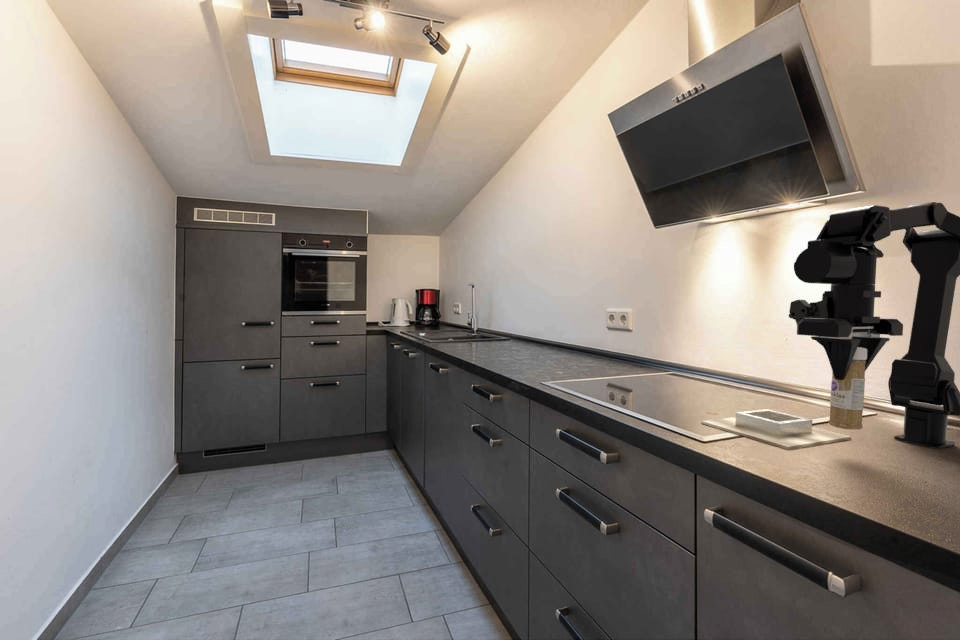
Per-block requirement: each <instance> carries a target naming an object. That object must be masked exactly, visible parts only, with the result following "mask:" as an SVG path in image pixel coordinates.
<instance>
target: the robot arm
mask: <svg viewBox="0 0 960 640" xmlns="http://www.w3.org/2000/svg"><path fill="white" fill-rule="evenodd" d="M828 217H829V219H827V220H826V221H825V224H824V225H823V227H822V228H821V230H820V232H819V234H818V235H817V237H816V239H815V240H808V241H807V248H805V249H803V251H801V252H800V253H799V254H798V256H797V257H796V260H795V262H793V271H794V274H795V276H796V278H797V279H799V281H801V282H803V283H806V284H822V285H823V284H824V285H830V290H824V292H823V293H822V297H821V300H819V301H814V302H808V301H806V299H796V300H793V301H791V302H790V304H789V305H790V306H789V313H788V318H790V319H792V320H794V321H795V323H796V335H797V336H798V335H799V336H810V338H811V339H812V340H813V341H816V342H817V343H818V344H819V345H820V346H822V347H823V349H824V351H825V353H826V356H827V358H828V362H829V365H830V368H831V372H833V374H834V377H835V379H837V380H844V378H845V376H846V374H847V372H848V369H849V367H850V364H851V362H852V359H853V357H854V354H855V352H856V350H857V347H861V348H866V349H867V359H866V360H865V361H866V362H865V372H866V370H868V368H869V366H870V365H871V363H872V362H873V361H874V360H875V358H876V357H877V355H878V353H879V352H880V351H881V350H882V349H883V347H884V346H885V345H886V343H888V342H890V340H891V339H890V337H881V335H889V336H892V337H897V336H898V337H899V336H901V337H902V336H903V334H904V324H903V322H901V321H900V320H899V319H898V318H884V317H883V318H881V316H875V298H878V299H881V298H882V290H881V291H880V290H876V279H877V278H876V276H877V275H876V274H877V259H879V258H883V257H884V253H883V252H882V250H881V249H879V248H878V247H876V245H875V244H876V242H879V241H882V240H884V239H886V238H888V237H889V236H890V235H891V234H892V232H896V231H901V230H905V233H904V235H903V239H902V243H903V245H904V247H905V248H906V249H907V250H908V252H909V253H910V263H911V264H912V266H913V268H914V269H915V271H916V272H917V273H918V275H919V280H918V287H917V292H916V293H917V294H916V299H915V306H914V310H913V311H914V312H913V319H912V325H911V332H910V336H909V337H910V338H909V344H908V351H907V352H906V354H904V355H903V356H902V357H901V358H900V359H899V358H895V359H894V360H893V362H892V363H891V370H890V371H891V372H890V376H889V378H888V382H887V383H888V384H887V386H888V391H889V396H890V398H889V399H890V403H891V406H893V407H894V406H895V407H901V408H904V417H903V419H904V420H903V433H902V434H899V435H894V436H893V439H894V440H899V441H902V442H907V443H910V444H911V443H912V444H916V445H919V446H923V447H928V448H933V449H942V448H948V447H953V446H952V445H954V446H956V444H957V443H956V442H954V441H950V440H947V433H948V419H949V418H948V417H949V416H960V390H959V388H958V386H957V385H956V383H955V377H956V374H955V373H956V372H955V371H954V370H953V368H952V366H951V365H950V363H949V361H948V360H947V358H946V357H945V355H946V348H947V343H948V336H949V329H950V323H951V317H952V309H953V303H954V296H955V290H956V286H957V279H958V277H960V216H959V215H957V214H954V213H952V212H950V211H948V209H947V208H946V206H945V205H944V204H943V203H942V202H937V201H932V202H925V203H919V204H912V205H908V206H906V207H901V208H895V209H890V207H889V206H885V205H878V204H877V205H876V204H875V205H868V206H863V207H855V208H849V209H845V210H838V211H834V212H832V213H830V214H829V216H828ZM930 226H935V227H936V228H937V229H933V230H925V231H924V230H923V231H920V232H919V233H918V232H917V230H915V228H920V227H921V228H923V227H930Z"/></svg>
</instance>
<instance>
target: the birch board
mask: <svg viewBox="0 0 960 640" xmlns="http://www.w3.org/2000/svg"><path fill="white" fill-rule="evenodd" d="M735 423H736V416H734V417H733V416H732V417H724V418H717V419H716V418H715V419H709V420H706V419H705V420H701V424H703V425H705V426H709V427H712V428H715V429H719V430H723V431H726V432H729V433H732V434H736V435H740V436H741V437H745V438H747V439H752V440H754V441H758V442H761V443H764V444H768V445H770V446H775V447H778V448H782V449H784V450H788V451H789V450H795V449H800V448H806V447H813V446H818V445H819V446H820V445H826V444H830V443H838V442H843V441H849V440H852V436H850V435H846V434H842V433H838V432H833V431H830V430H826V429H822V428H818V427H815V426H812V433H805V434H799V435H792V436H785V437H777V436H774V435H770V434H767V433H763V432H760V431H756V430H753V429H749V428H746V427H742V426H739V425H735Z"/></svg>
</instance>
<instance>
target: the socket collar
mask: <svg viewBox="0 0 960 640" xmlns="http://www.w3.org/2000/svg"><path fill="white" fill-rule="evenodd" d="M735 417H736V423H735V425H739V426H742V427H746V428H749V429H753V430H756V431H760V432H763V433H767V434H770V435H774V436H777V437H785V436H792V435H799V434H805V433H812V427H813V419H811V418H806V417H803V416H798V415H794V414H790V413H789V414H788V413H784V412H781V411H777V410H772V409H768V408H763V409H756V410H755V409H753V410H747V411H745V410H744V411H737V412H735Z"/></svg>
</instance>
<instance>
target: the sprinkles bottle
mask: <svg viewBox="0 0 960 640" xmlns="http://www.w3.org/2000/svg"><path fill="white" fill-rule="evenodd" d="M866 359H867V349H866V348H861V347H857V350H856V352H855V354H854V357H853V359H852V362H851V364H850V367H849V369H848V372H847V374H846V376H845V378H844V380H837V379H835V377H834V374H833V371H831V372H832V378H831V384H830V400H829V401H830V402H829V405H830V407H829V408H830V409H829V420H828V424H829V425H830V426H832V427H835V428H838V429H843V430H855V431H857V430H863V426H864V425H863V413H864V405H865V404H864V402H865V401H864V400H865V385H866V384H865V382H866V378H865V375H866V371H865V362H866V361H865V360H866Z"/></svg>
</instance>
